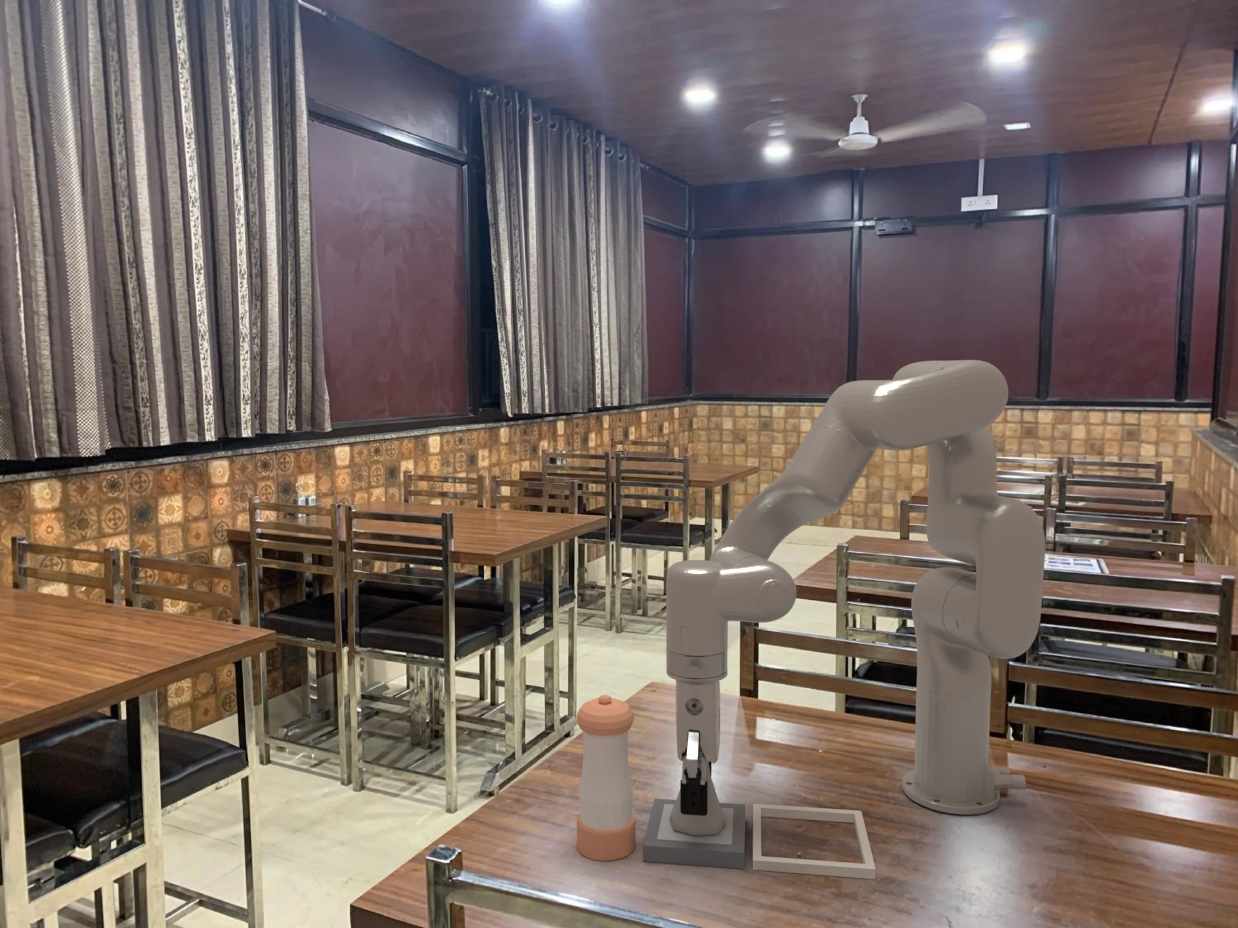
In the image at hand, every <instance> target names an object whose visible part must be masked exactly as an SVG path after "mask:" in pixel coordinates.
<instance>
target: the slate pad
mask: <svg viewBox="0 0 1238 928" xmlns="http://www.w3.org/2000/svg"><path fill="white" fill-rule="evenodd" d="M675 801H676V799H666V798H654V799H653V802H652V803H653V804H652V807H651V811H650V816H649V820H648V823H647V827H646V831H645V835H644V841H643V844H642V854H643V855H642V858H643V859H642V862H649V863H658V864H659V863H663V864H673V865H686V866H687V865H688V866H697V867H698V866H700V867H712V868H713V867H714V868H725V869H726V868H727V869H737V870H744V869H745V854H746V851H745V850H746V849H745V847H746V845H745V844H746V804H743V803H727V802H726V803H725V802H719V803H720V806H721V808H722V811H723V814H724V817H725V820H726V823H727V824H726V825H725V826H724V827H723V828H722V830H721V831H720V832H719V833H718V834H709V835H691V834H687V833H684V832H680V831H677V830H673V827H672V824H671V822H670V819H669V818H670V815H671V812H672V809H673V807H674V804H675Z"/></svg>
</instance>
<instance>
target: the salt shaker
mask: <svg viewBox="0 0 1238 928" xmlns="http://www.w3.org/2000/svg"><path fill="white" fill-rule="evenodd" d="M634 720H635V716H634V711H633V710H632V708H631V706H630V705H629V704H628V703H626V702H625V701H624V700H620V699H618V698H613V697H611V696H610V695H608V694H601V695H600V696H599V697H597V698H594V699H591V700H588V701H585V702H584V703H582V705H581V706H580V708H579V709H578V711H577V714H576V722H577V726H578V727H579V729H580V730H581V731H582V733H583V734H582V742H583V744H582V745H583V746H582V747H583V749H582V750H583V751H582V754H583V755H582V756H583V757H582V758H583V759H582V761H583V762H582V768H581V774H580V780H579V781H580V782H579V789H578V799H579V800H578V802H579V814H578V816H577V818H576V847H577V850H578V852H579V853H580V854H581V855H582V856H584V857H586V858H587V859H591V860H594V861H602V862H606V861H617V860H620V859H624V858H626V857H628V856H629V855H631V854H632V853H633V851H635V849H636V842H637V841H636V835H637V834H636V817H635V815H634V814H635V813H633V803H634V801H633V800H634V799H633V798H634V795H633V794H634V793H633V792H634V790H633V785H632V778H631V772H630V765H629V752H628V751H629V749H628V748H629V743H628V741H629V739H628V738H629V736H628V731H629V730H630V729H631V727H632V725H633V723H634Z"/></svg>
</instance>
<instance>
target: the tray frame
mask: <svg viewBox="0 0 1238 928" xmlns="http://www.w3.org/2000/svg"><path fill="white" fill-rule="evenodd" d="M762 817H764V818H765V817H766V818H776V819H777V818H778V819H779V818H780V819H791V820H805V821H806V820H808V821H819V822H820V821H823V822H835V823H836V822H838V823H853V824H854V829H855V833H856V838H857V842H858V846H859V851H860V855H861V858H862V859H861V860H862V863H859V862H858V863H856V862H847V861H846V862H845V861H843V862H842V861H831V860H830V861H829V860H819V859H818V860H816V859H806V858H804V859H802V858H790V857H777V856H766V855H764V856H763V855H762ZM865 824H866V823H865V821H864V816H863V813H862V810H852V809H838V808H824V807H811V806H810V807H809V806H805V807H804V806H793V805H779V804H778V805H777V804H766V803H765V804H763V803H753V804H752V871H763V872H764V871H765V872H776V873H777V872H779V873H791V874H803V875H814V876H827V877H829V876H830V877H841V878H842V877H843V878H853V879H854V878H855V879H867V880H876V877H877V875H876V873H877V872H876V869H877V868H876V866H875V865H876V863H875V861H874V858H873V853H872V849H871V845H870V841H869V838H868V837H869V836H868V833H867V829H866V825H865Z"/></svg>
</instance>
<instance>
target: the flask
mask: <svg viewBox="0 0 1238 928" xmlns="http://www.w3.org/2000/svg"><path fill="white" fill-rule="evenodd" d="M698 756H701V757H703V754H698ZM698 768H700V771H701V764H698ZM705 782H708V809H707V815H705V816H699V815H685V814H682V813H681V812H680V790H679V791H678V794H677V796H676V799H675V800H676V801H675V804H674V807H673V809H672V812H671V815H670V818H669V819H670V822H671V824H672V827H673V830H677V831H680V832H684V833H687V834H691V835H709V834H718V833H719V832H720V831H721V830H722V828H723V827H724V826H725V825H726V824H727V823H726V820H725V817H724V814H723V811H722V808H721V806H720V803H721V802H720V801H719V798H718V794H717V792H716V787H715V786H714V782H713V779H712V774H710V768H709V762H707V760H706V776H705Z"/></svg>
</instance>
